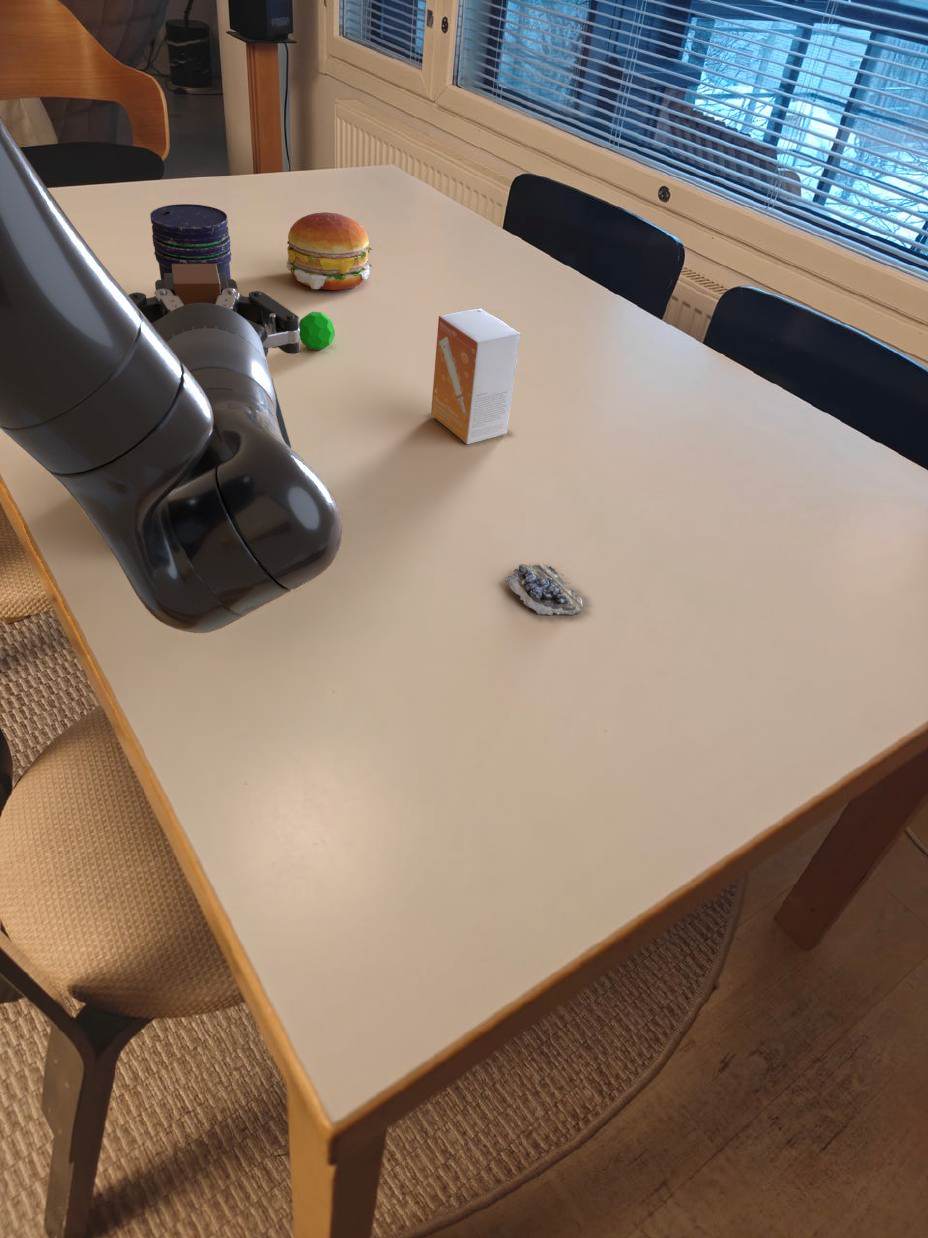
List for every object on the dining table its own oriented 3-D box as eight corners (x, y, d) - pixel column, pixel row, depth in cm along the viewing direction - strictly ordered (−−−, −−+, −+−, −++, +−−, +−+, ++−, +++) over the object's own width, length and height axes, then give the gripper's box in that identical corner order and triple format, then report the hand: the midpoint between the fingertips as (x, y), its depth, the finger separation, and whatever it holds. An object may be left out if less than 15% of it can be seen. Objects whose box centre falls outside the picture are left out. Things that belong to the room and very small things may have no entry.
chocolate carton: (192, 434, 69) (173, 283, 61) (190, 410, 72) (171, 263, 64) (233, 431, 70) (220, 282, 62) (229, 408, 73) (216, 263, 65)
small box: (429, 416, 108) (437, 314, 99) (470, 406, 111) (481, 306, 102) (466, 445, 103) (477, 341, 95) (508, 434, 106) (522, 332, 98)
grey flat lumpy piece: (529, 560, 87) (532, 545, 86) (598, 593, 84) (602, 578, 83) (493, 592, 83) (495, 576, 81) (564, 628, 79) (568, 613, 78)
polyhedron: (296, 340, 121) (294, 307, 118) (330, 339, 122) (330, 306, 119) (302, 356, 117) (301, 321, 114) (337, 354, 119) (337, 320, 116)
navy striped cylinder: (246, 318, 125) (238, 209, 115) (225, 345, 118) (214, 231, 108) (178, 309, 125) (164, 199, 116) (153, 336, 118) (136, 221, 108)
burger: (381, 274, 143) (383, 211, 137) (353, 302, 133) (354, 235, 127) (305, 260, 145) (303, 197, 139) (272, 287, 135) (269, 220, 129)
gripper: (322, 326, 53) (286, 235, 66) (78, 332, 50) (88, 234, 62) (324, 434, 58) (290, 330, 71) (102, 447, 55) (107, 335, 67)
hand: (195, 286), depth 66 cm, fingers closed on chocolate carton, 3 cm apart
